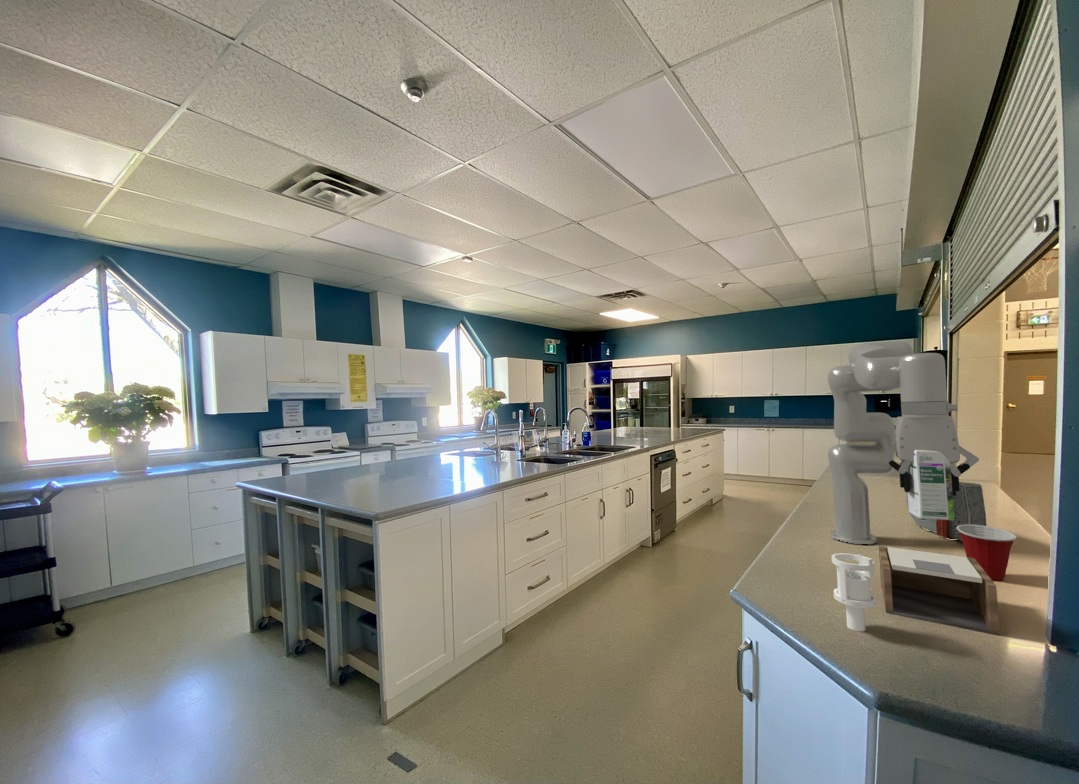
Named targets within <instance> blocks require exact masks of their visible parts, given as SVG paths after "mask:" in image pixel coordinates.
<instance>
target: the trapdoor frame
mask: <svg viewBox="0 0 1079 784" xmlns="http://www.w3.org/2000/svg"><path fill="white" fill-rule="evenodd" d="M887 547H888V546H885V545H878V555H879V556H878V558H879V571H880V572H879V574H880V585H881V591H882V597H883V602H884V608H885V613H886V614H892V615H896V616H902V617H905V618H911V619H916V620H920V621H925V622H926V621H927V622H931V623H935V624H942V625H946V626H951V627H956V628H959V629H960V628H961V629H966V630H970V631H975V632H976V631H977V632H980V633H986V634H991V635H995V636H1000V622H999V607H998V606H999V605H998V603H999V602H998V594H997V593H998V591H997V585H996V584H995V581H992V580H991V579H990V577H989V576H988V575H987V574H986V572H985V571H984V570H983V569H982V567H981V566H980V565H979V563H978V562H977V561H976V560H975V558H969V557H967V556H966V557H967V559H968V560H969V561H970V563H971V564H972V565H973V567H974V568H975V569H976V571H977V572H978V574H979V575H980V576H981V578H982V583H978V582H971V581H965V580H958V579H952V578H945V577H939V576H932V575H926V574H919V573H913V572H906V571H900V570H894V569H892V566H891V562H890V558H889V554H888V549H887Z"/></svg>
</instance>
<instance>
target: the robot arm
mask: <svg viewBox="0 0 1079 784" xmlns="http://www.w3.org/2000/svg"><path fill="white" fill-rule="evenodd" d="M847 359H848V363H849V364H847V365H839V366H834V367H833V368H831V369H830V370H829V372H828V375H827V382H828V386H829V390H830V392H831V394H832V396H833V403H834V405H833V407H834V408H833V410H834V411H833V413H834V414H833V431H834V436H835V438H837V439H838V440H840V441H843V442H850V443H842V444H836V445H835V444H834V445H833V446H831V447H830V448H829V449H828V453H827V458H828V463H829V468H830V471H831V472H830V473H831V477H832V478H831V479H832V491H833V492H832V493H833V494H832V495H833V509H834V510H833V512H834V513H833V514H834V530H832V531H830V532H829V536H830V538H831V539H833V538H834V539H833V540H835V539H836V541H838V540H840V541H839V542H842V541H843V542H842V543H846V542H848V543H847V544H852V543H853V544H852V545H862V544H868V545H874V543H875V544H876V543H878V538H877V537H876V536H875V535H872V534H871V520H870V518H871V517H870V502H869V488H868V484H867V483H866V482H865V481H864V479H862V478H861V477H860V476H859V474H888V473H890V472H891V471H892V469H894V470H895V471H896V472H898V473H899V475H898V476H899V487H900V488H902V489H904V490H903V491H904V492H905V493H907V492H910V487H909V475H908V473H907V471H906V470H907V469H908V467H909V465H910V464H911V462H914V451H915V450H924V451H938V452H941V453H942V454H943V455H944V456H945V457H946V458H947V459H948V460H949V461H950V465H951V480H952V495H953V496H956V491H959V482H960V479H959V477H960V476H961V475H963V474H965V472H967V471H968V470H969V469H970V468H971V467H973V466H974V465H976V464H977V462H979V461H980V457H978V456H976V455H975V454H973V453H971V452H970V451H968V450H966V449H965V448H964V447H962V446H960V443H959V436H958V432H957V427H956V424H955V420H954V418H953V416H951V415H949V414H950V412H953V411H954V412H955V411H958V405H957V404H955V403H954V404H953V403H950V402H949V401H948V392H947V374H946V372H947V371H946V360H945V357H944V355H942V354H941V353H937V352H921V353H915V352H914V350H913V348H912V346H911V345H910V344H909V343H907V342H906V341H902V340H892V341H890V340H889V341H875V342H874V341H873V342H871V341H870V342H865V343H864V342H863V343H860V344H858V345H856V346H854V347H853V348H852V349H851V350H850V351H849V353H848V356H847ZM896 389H899V390H900V391H899V392H900V393H899V394H900V407H901V409H900V410H901V416H897V418H896V421H895V423H894V420H893V418H892V416H890V415H889V414H888V413H885V412H867V398H866V396H865V395H864V394H863V393H864V392H865V393H866V392H867V393H870V392H889V391H893V390H896ZM862 392H863V393H862ZM851 442H853V443H851ZM854 442H856V443H854ZM857 442H861V444H860V443H857ZM863 442H864V443H863ZM865 442H866V444H865ZM868 442H869V444H867V443H868ZM870 442H871V443H870ZM873 442H874V443H873ZM862 443H863V444H862ZM872 443H873V444H872ZM961 455H962V456H964V458H965V460H964V461H963V462H962V463H960V464H958V465H956V463H958V462H960V459H961ZM895 456H896V457H897V458H898V459H899V460H900V463H898V462H896V461H895Z"/></svg>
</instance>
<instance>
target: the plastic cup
mask: <svg viewBox="0 0 1079 784" xmlns="http://www.w3.org/2000/svg"><path fill="white" fill-rule="evenodd" d="M956 528H957V530H958V531H959V533H960V536H961V539H962V541H961V542H962V545H963V549H964V553H965V557H969V558H975V560H976V561H977V562H978V563H979V565H980V566H981V567H982V569H983V570H984V571H985V572H986V574H987V575H988V576H989V577H990V579H991V580H992V581H993V582H1001V581H1002V582H1003V581H1004V580H1005V578H1006V573H1007V568H1008V565H1009V561H1010V560H1009V558H1010V556H1011V555H1010V554H1011V549H1012V546H1013V543H1014V541H1016V539H1017V535H1016V534H1014V533H1013V532H1011V531H1008V530H1006V529H1002V528H998V527H994V526H993V527H992V526H989V525H987V526H982V525H959V526H957V527H956Z"/></svg>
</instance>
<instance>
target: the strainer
mask: <svg viewBox="0 0 1079 784" xmlns="http://www.w3.org/2000/svg"><path fill="white" fill-rule="evenodd" d="M842 560H848V561H857V562H858V564H857V563H850V562H845V561H842ZM831 563H832V564H833V565H834V566H836V582H837V588H834V589H833V598H834V600H836V601H838V602H839V603H841V604H844V605H845V613H846V615H845V616H846V627H847V628H848V629H850V630H852V631H854V632H861V633H862V632H865V631H866V617H865V615H866V614H865V609H872V608H873V609H874V608H875V607H877V598H876V596H874V595H873V594H872V588H871V587H872V586H871V579H870V578H873V577H874V570H875V562H874V560H873V558H872V557H871V558H870V557H867V556H864V555H863V554H854V553H845V552H844V553H843V552H841V553H833V554H831Z"/></svg>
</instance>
